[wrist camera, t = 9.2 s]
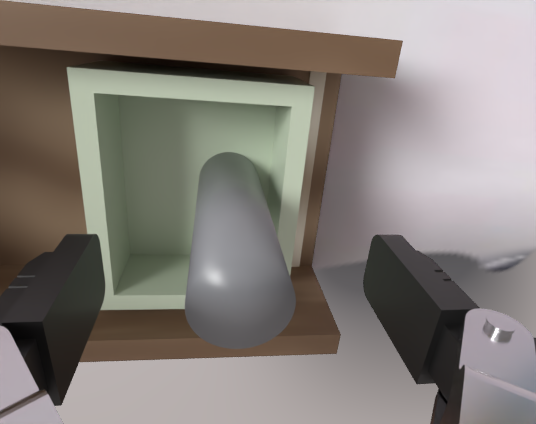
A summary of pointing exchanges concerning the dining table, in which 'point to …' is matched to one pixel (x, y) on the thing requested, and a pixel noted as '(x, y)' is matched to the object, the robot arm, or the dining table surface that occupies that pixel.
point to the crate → (194, 191)
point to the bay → (67, 167)
